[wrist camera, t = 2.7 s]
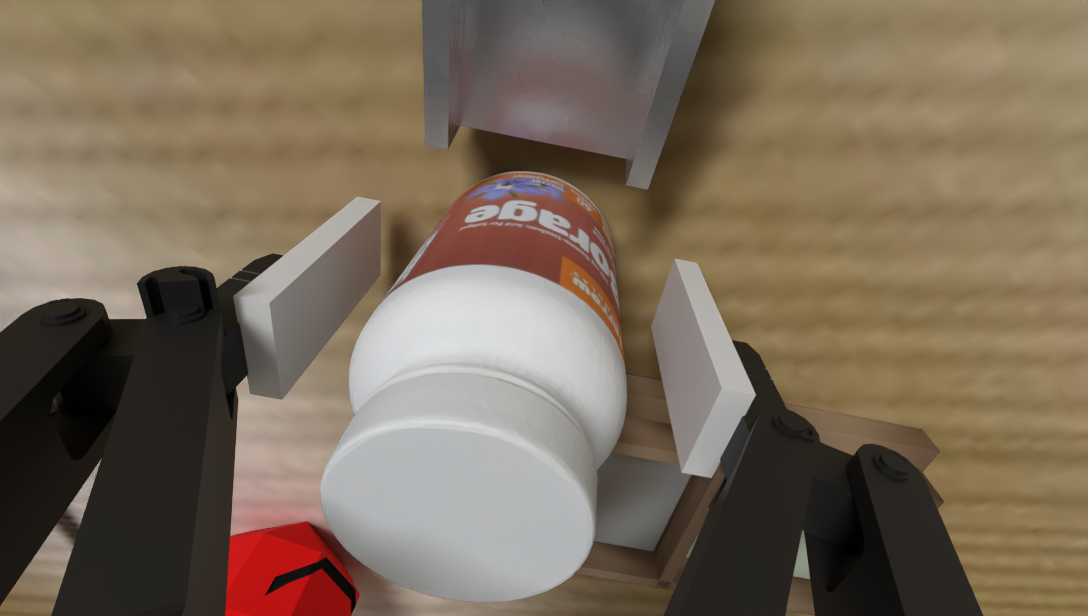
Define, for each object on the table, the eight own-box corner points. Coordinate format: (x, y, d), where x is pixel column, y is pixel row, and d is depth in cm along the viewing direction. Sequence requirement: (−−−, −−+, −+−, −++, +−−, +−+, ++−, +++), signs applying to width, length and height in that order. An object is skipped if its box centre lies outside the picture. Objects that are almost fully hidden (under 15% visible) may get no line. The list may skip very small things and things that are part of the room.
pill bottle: (648, 222, 17) (731, 494, 7) (559, 348, 20) (535, 659, 10) (484, 128, 16) (328, 308, 6) (416, 278, 19) (238, 555, 9)
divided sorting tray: (488, 521, 26) (479, 571, 23) (520, 354, 20) (512, 398, 18) (803, 576, 26) (825, 631, 24) (922, 429, 20) (965, 482, 18)
